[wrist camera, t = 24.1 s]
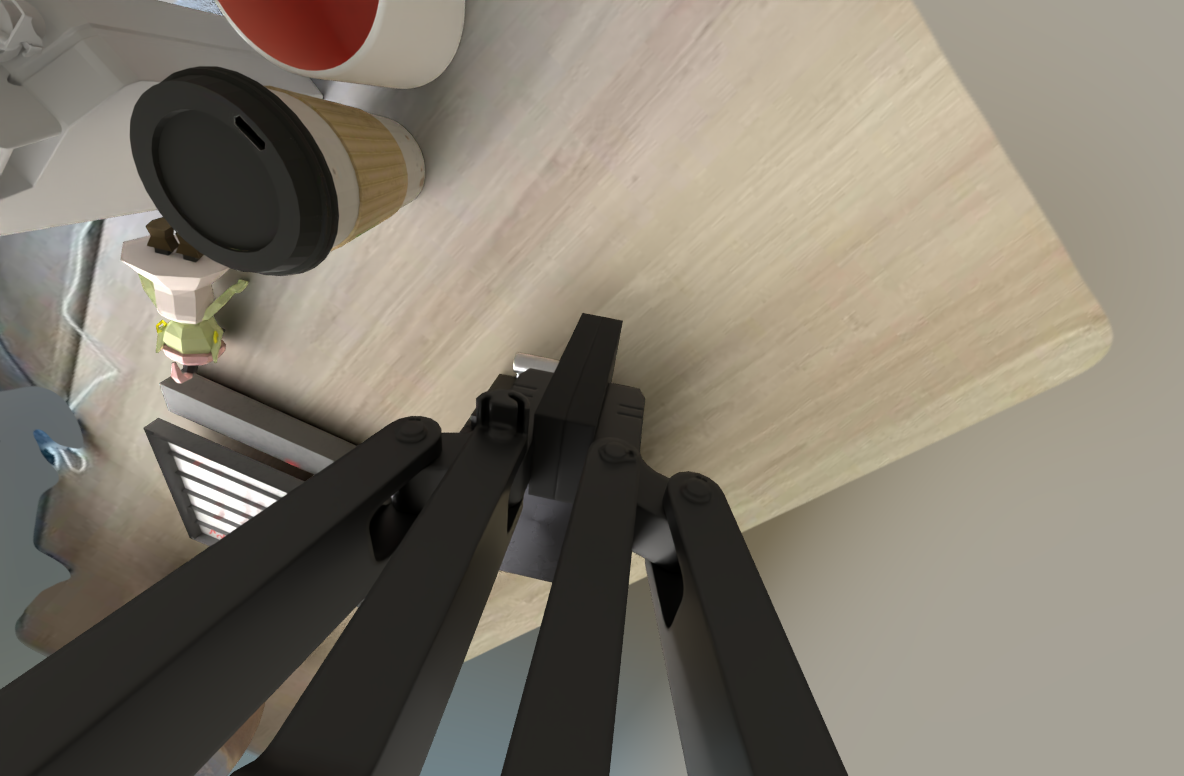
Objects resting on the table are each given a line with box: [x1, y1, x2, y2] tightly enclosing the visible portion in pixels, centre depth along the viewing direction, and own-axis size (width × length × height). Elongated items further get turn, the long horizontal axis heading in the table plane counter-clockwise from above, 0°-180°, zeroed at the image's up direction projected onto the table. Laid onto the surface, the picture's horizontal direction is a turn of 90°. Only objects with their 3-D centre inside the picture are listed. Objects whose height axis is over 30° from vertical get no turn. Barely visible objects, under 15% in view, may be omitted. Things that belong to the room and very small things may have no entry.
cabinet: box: [460, 417, 573, 582], centre depth 43 cm, size 17×14×9 cm
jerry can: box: [0, 0, 323, 236], centre depth 23 cm, size 15×5×25 cm, turn 124°
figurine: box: [120, 217, 249, 384], centre depth 40 cm, size 9×7×15 cm
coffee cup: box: [130, 66, 425, 276], centre depth 28 cm, size 10×10×15 cm
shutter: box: [144, 369, 364, 607], centre depth 57 cm, size 32×7×31 cm
